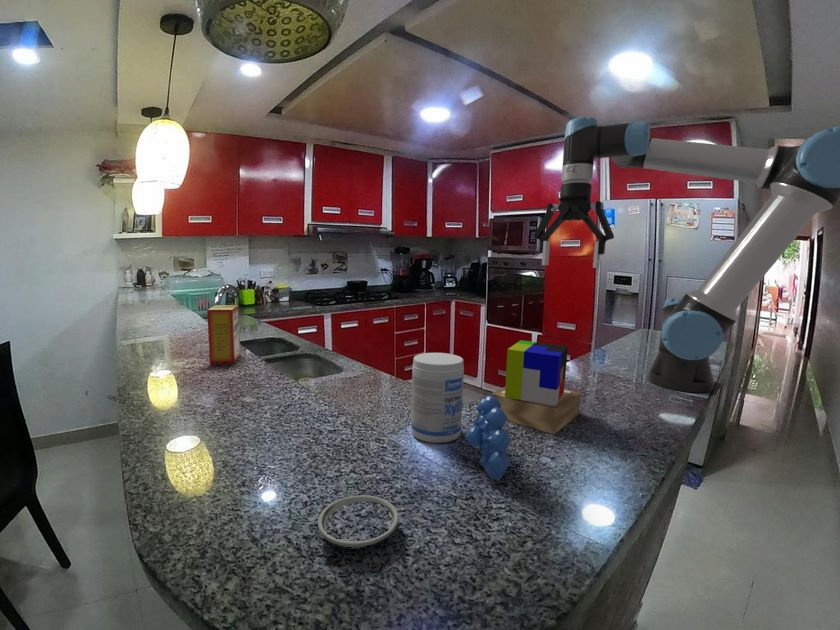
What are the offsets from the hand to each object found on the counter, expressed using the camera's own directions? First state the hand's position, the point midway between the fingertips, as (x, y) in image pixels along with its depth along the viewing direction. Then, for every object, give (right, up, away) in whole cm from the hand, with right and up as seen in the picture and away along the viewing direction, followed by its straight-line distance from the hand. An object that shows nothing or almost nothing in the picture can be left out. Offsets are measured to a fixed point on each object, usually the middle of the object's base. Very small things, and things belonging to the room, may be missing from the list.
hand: (569, 266), depth 114 cm
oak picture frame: (-15, -34, -22) cm, 43 cm away
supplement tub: (-37, -35, -33) cm, 61 cm away
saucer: (-47, -40, -61) cm, 87 cm away
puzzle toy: (-16, -30, -24) cm, 41 cm away
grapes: (-30, -38, -46) cm, 66 cm away
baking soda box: (-98, -26, +15) cm, 102 cm away
